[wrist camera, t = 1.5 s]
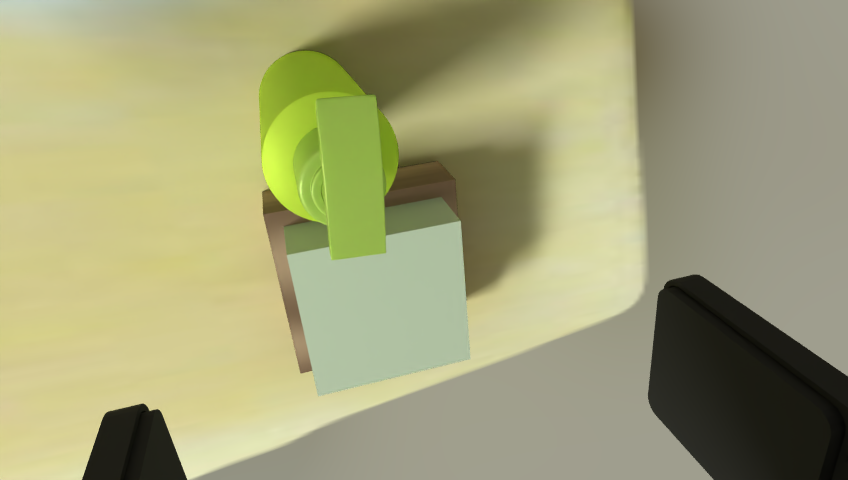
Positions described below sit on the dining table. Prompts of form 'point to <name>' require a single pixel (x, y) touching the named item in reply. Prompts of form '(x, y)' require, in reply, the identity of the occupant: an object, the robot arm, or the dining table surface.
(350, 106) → the soap dispenser
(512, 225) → the dining table surface
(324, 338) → the pale green square tile
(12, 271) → the dining table surface
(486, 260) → the dining table surface
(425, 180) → the riser base
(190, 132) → the dining table surface
